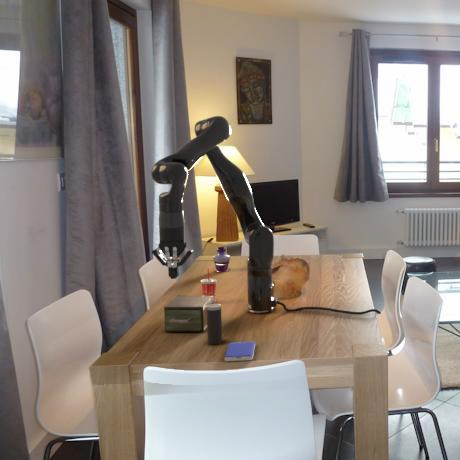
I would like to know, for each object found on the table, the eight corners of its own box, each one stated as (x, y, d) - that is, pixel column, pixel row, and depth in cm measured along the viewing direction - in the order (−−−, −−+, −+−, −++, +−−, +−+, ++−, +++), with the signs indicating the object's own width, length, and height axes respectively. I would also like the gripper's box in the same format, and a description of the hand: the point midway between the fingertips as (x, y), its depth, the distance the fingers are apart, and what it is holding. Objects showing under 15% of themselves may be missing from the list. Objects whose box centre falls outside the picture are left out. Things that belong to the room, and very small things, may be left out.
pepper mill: (223, 340, 207) (222, 303, 204) (220, 344, 202) (219, 307, 200) (209, 340, 206) (208, 303, 204) (206, 345, 202) (205, 307, 200)
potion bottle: (234, 268, 307) (233, 244, 305) (227, 272, 298) (226, 248, 296) (217, 268, 308) (216, 244, 306) (209, 272, 299) (208, 247, 297)
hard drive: (228, 342, 200) (224, 356, 188) (255, 341, 202) (252, 355, 190) (228, 347, 200) (224, 361, 188) (255, 345, 202) (252, 360, 190)
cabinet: (203, 332, 214) (202, 307, 213) (165, 332, 213) (164, 307, 212) (214, 318, 229) (213, 295, 227) (178, 318, 228) (177, 295, 226)
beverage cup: (219, 300, 252) (218, 266, 250) (213, 304, 246) (212, 270, 244) (205, 299, 253) (204, 265, 250) (198, 304, 247) (197, 269, 244)
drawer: (197, 335, 208) (196, 315, 207) (161, 335, 207) (160, 315, 206) (211, 318, 226) (210, 299, 225) (178, 318, 225) (177, 299, 224)
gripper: (146, 226, 195) (148, 281, 198) (189, 227, 196) (191, 281, 199) (154, 223, 202) (156, 275, 205) (196, 223, 203) (198, 275, 206)
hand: (174, 278), depth 202 cm, fingers closed
